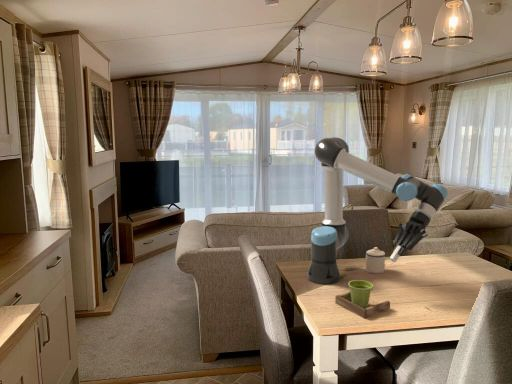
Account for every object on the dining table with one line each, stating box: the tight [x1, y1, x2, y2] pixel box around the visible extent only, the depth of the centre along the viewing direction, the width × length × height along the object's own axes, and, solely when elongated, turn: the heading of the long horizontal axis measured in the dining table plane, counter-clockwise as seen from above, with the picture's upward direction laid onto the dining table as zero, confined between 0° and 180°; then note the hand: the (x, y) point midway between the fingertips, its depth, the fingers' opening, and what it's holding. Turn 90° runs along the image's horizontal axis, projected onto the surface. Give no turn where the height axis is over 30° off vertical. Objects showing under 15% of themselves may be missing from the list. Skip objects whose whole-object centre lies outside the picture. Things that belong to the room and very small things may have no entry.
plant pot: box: [347, 279, 374, 309], centre depth 156 cm, size 9×9×9 cm
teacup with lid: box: [365, 246, 386, 274], centre depth 195 cm, size 12×9×12 cm
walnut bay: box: [334, 291, 391, 319], centre depth 155 cm, size 14×15×3 cm
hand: (392, 260), depth 161 cm, fingers closed
